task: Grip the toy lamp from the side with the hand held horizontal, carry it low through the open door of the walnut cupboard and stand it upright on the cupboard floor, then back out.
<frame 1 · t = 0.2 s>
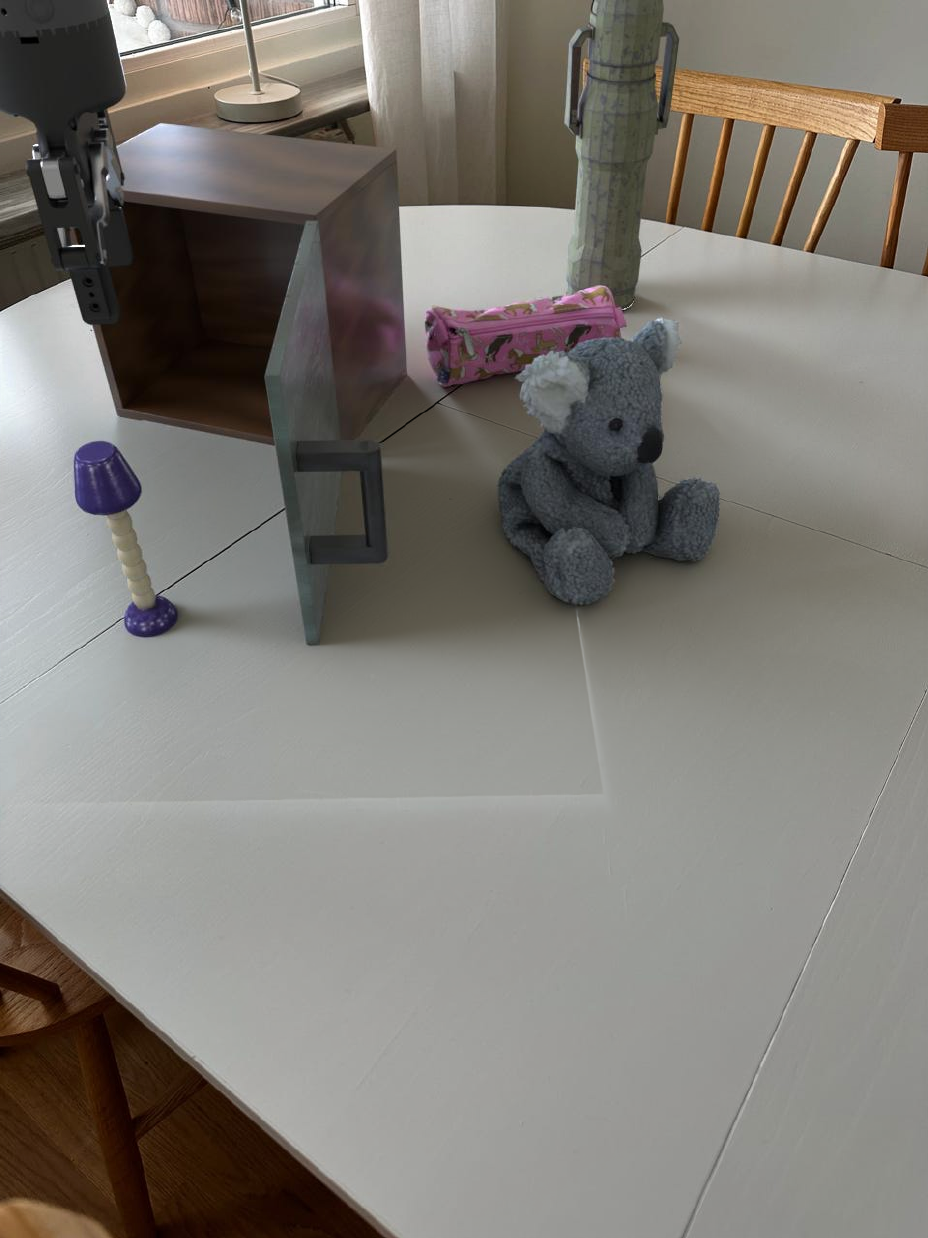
hand: (110, 291, 64), 27 cm above the table, tool pointing down, fingers open, 8 cm apart
cupboard door: (348, 428, 79), point 12 cm above the table, hinge at 110.0°
koala plush: (585, 536, 88), on the table
cupboard: (266, 394, 107), on the table
toy lamp: (149, 624, 80), on the table
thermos: (599, 300, 124), on the table
pencil case: (522, 372, 111), on the table
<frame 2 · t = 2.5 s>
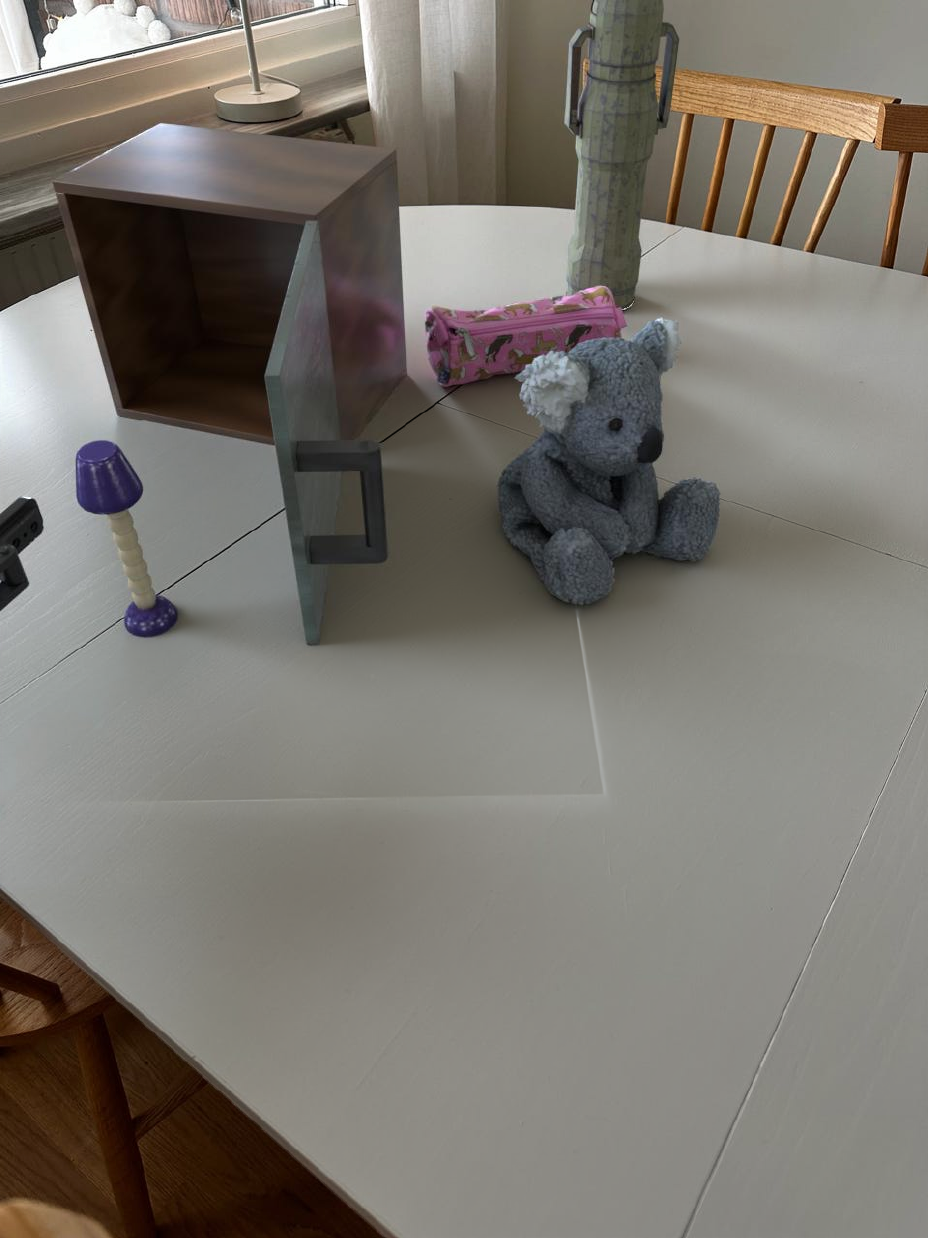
nothing on the table moved.
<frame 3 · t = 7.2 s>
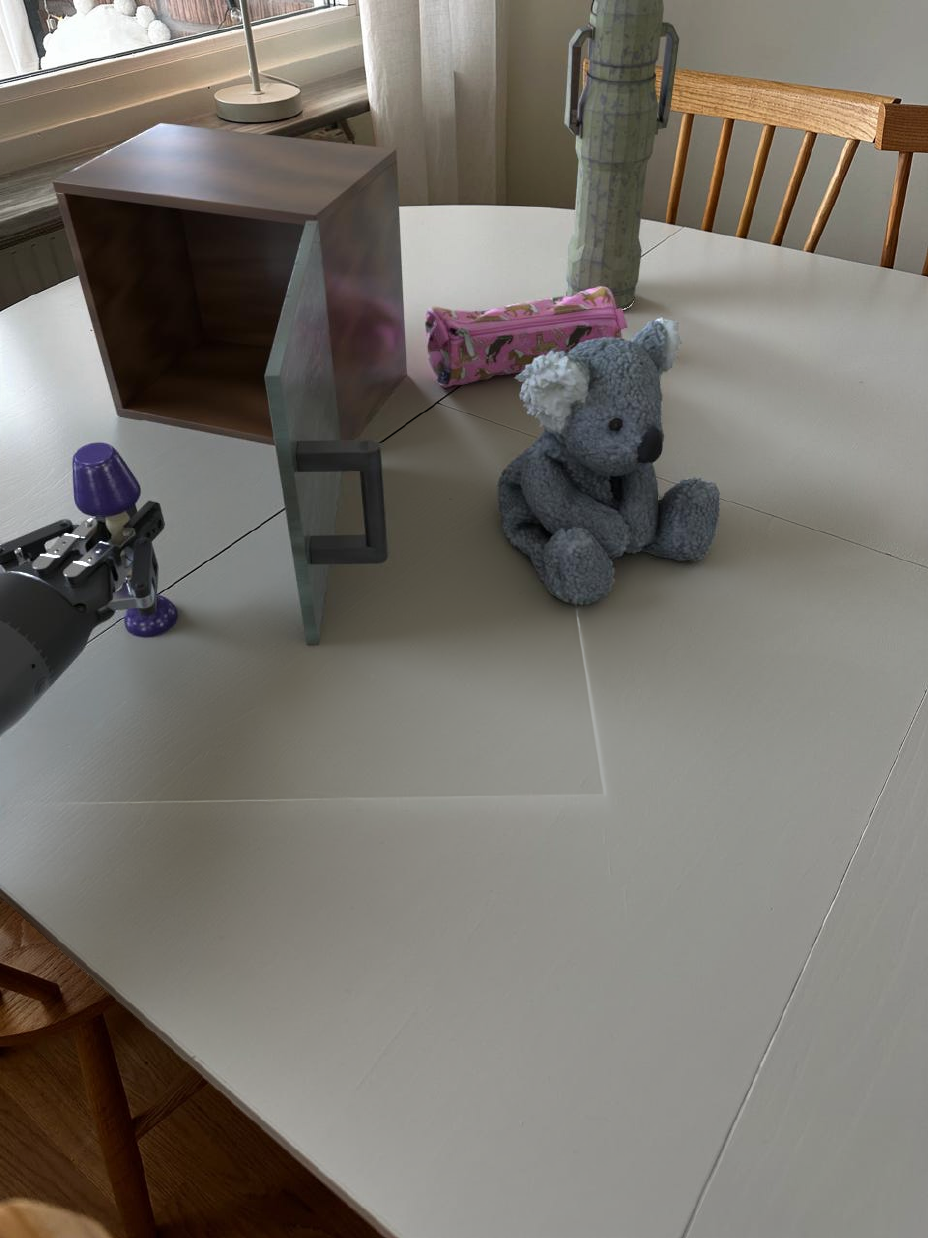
hand: (144, 508, 75), 10 cm above the table, tool horizontal, fingers closed on toy lamp
toy lamp: (149, 624, 80), on the table, touching gripper
everything else where it was.
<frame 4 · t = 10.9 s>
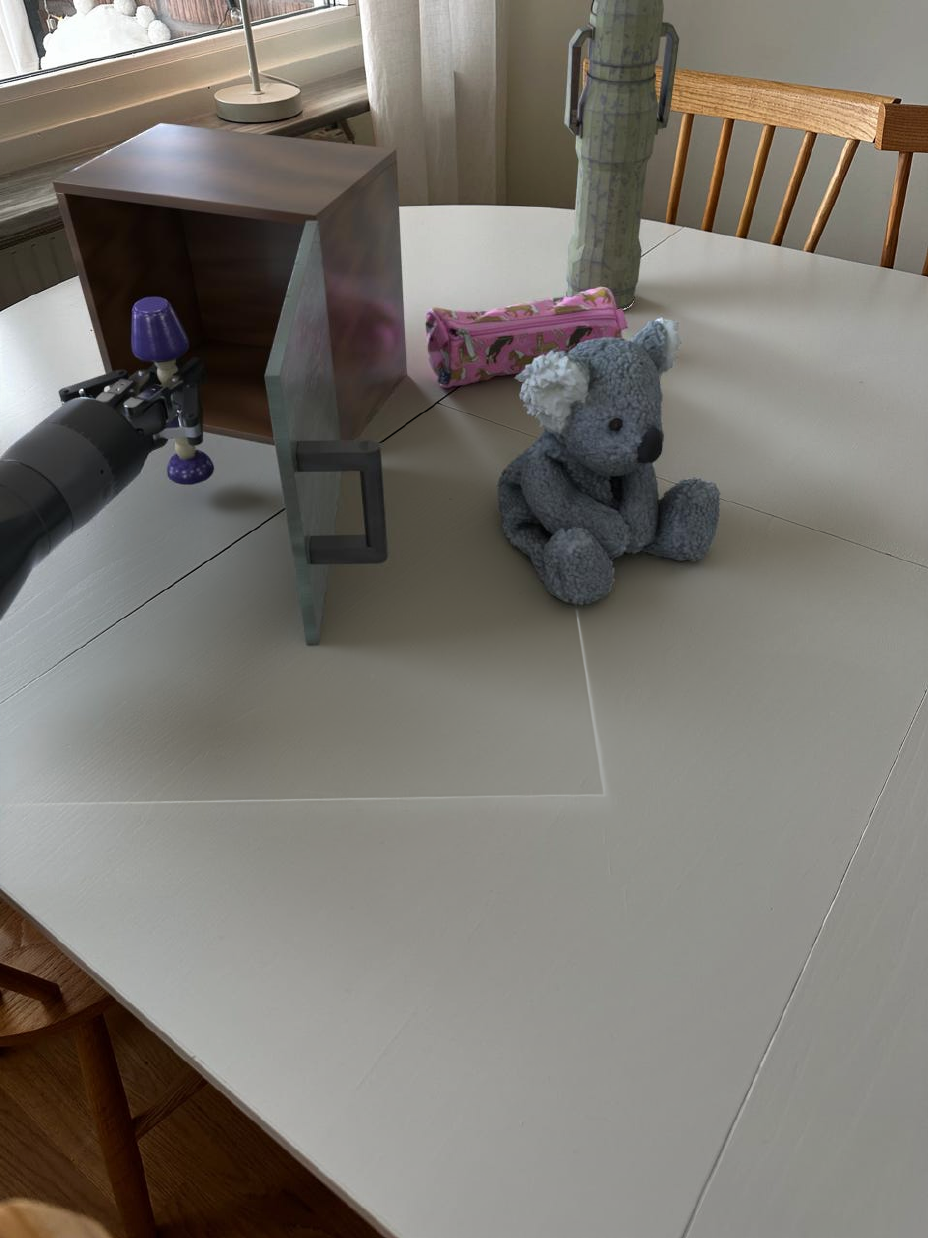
hand: (188, 365, 86), 13 cm above the table, tool horizontal, fingers closed on toy lamp
toy lamp: (188, 475, 90), point 3 cm above the table, touching gripper
everything else where it was.
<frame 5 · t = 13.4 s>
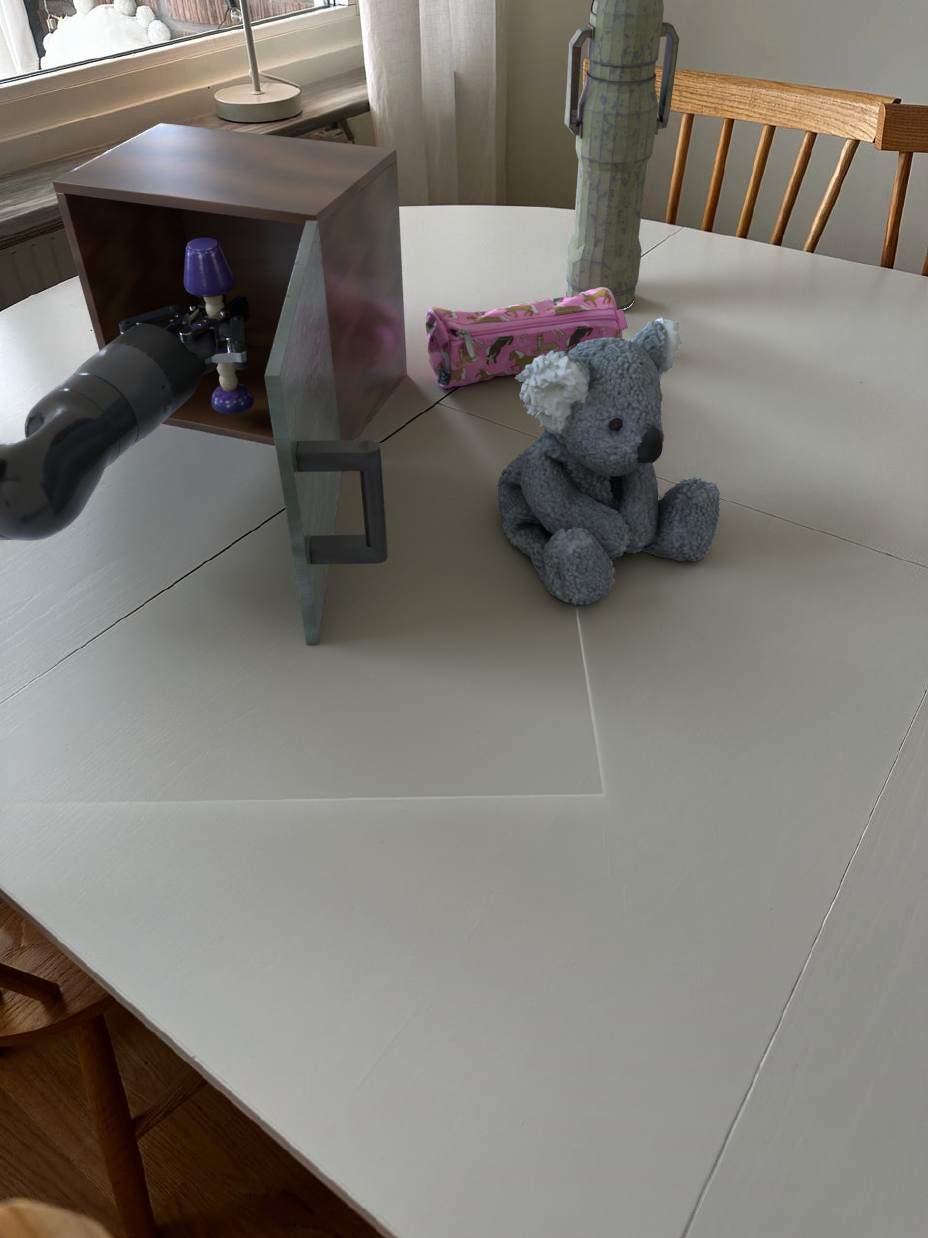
hand: (232, 303, 95), 13 cm above the table, tool horizontal, fingers closed on toy lamp
toy lamp: (231, 406, 99), point 3 cm above the table, touching gripper
everything else where it was.
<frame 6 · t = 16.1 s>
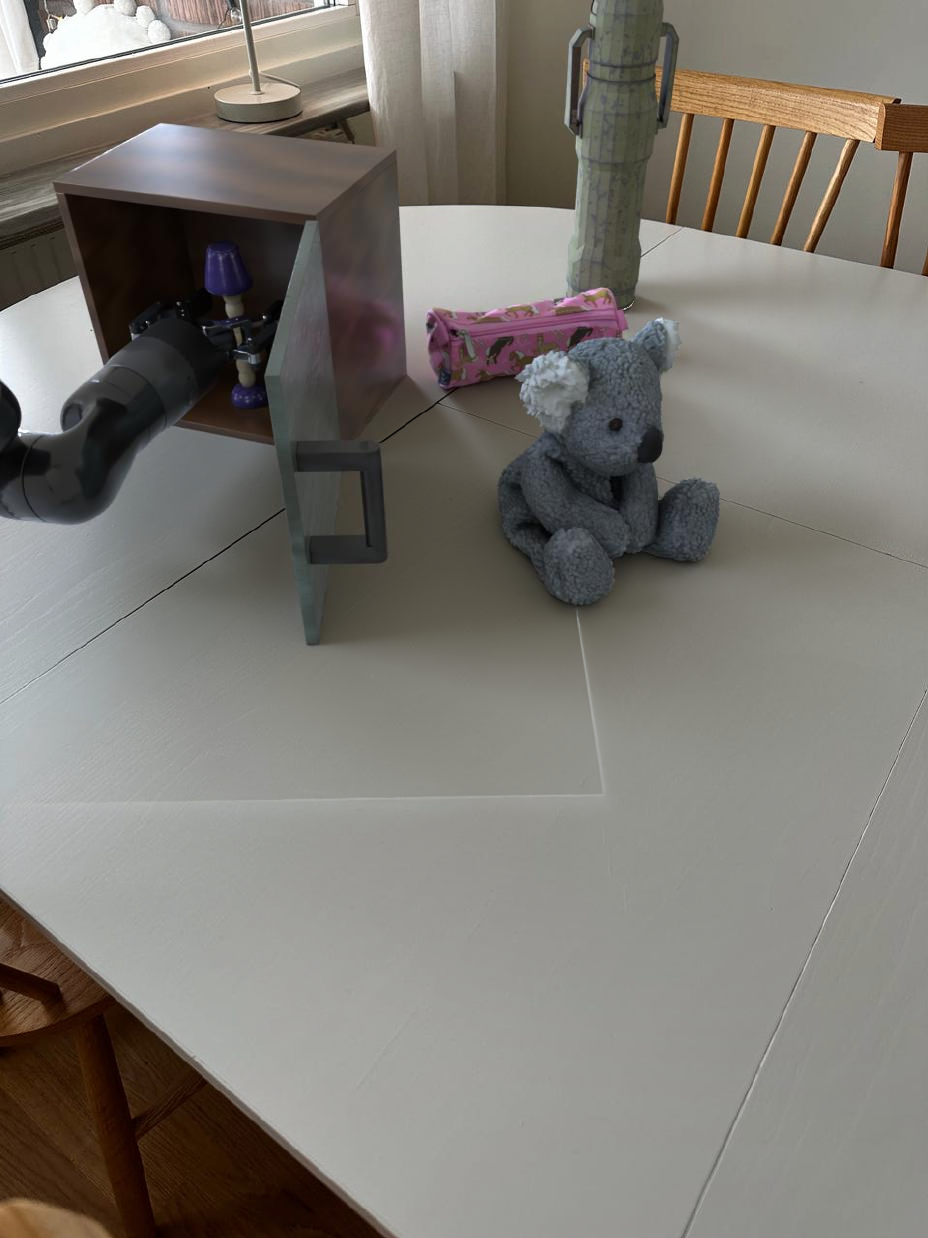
hand: (245, 302, 99), 11 cm above the table, tool horizontal, fingers open, 8 cm apart
toy lamp: (249, 402, 104), point 1 cm above the table, touching cupboard
everything else where it was.
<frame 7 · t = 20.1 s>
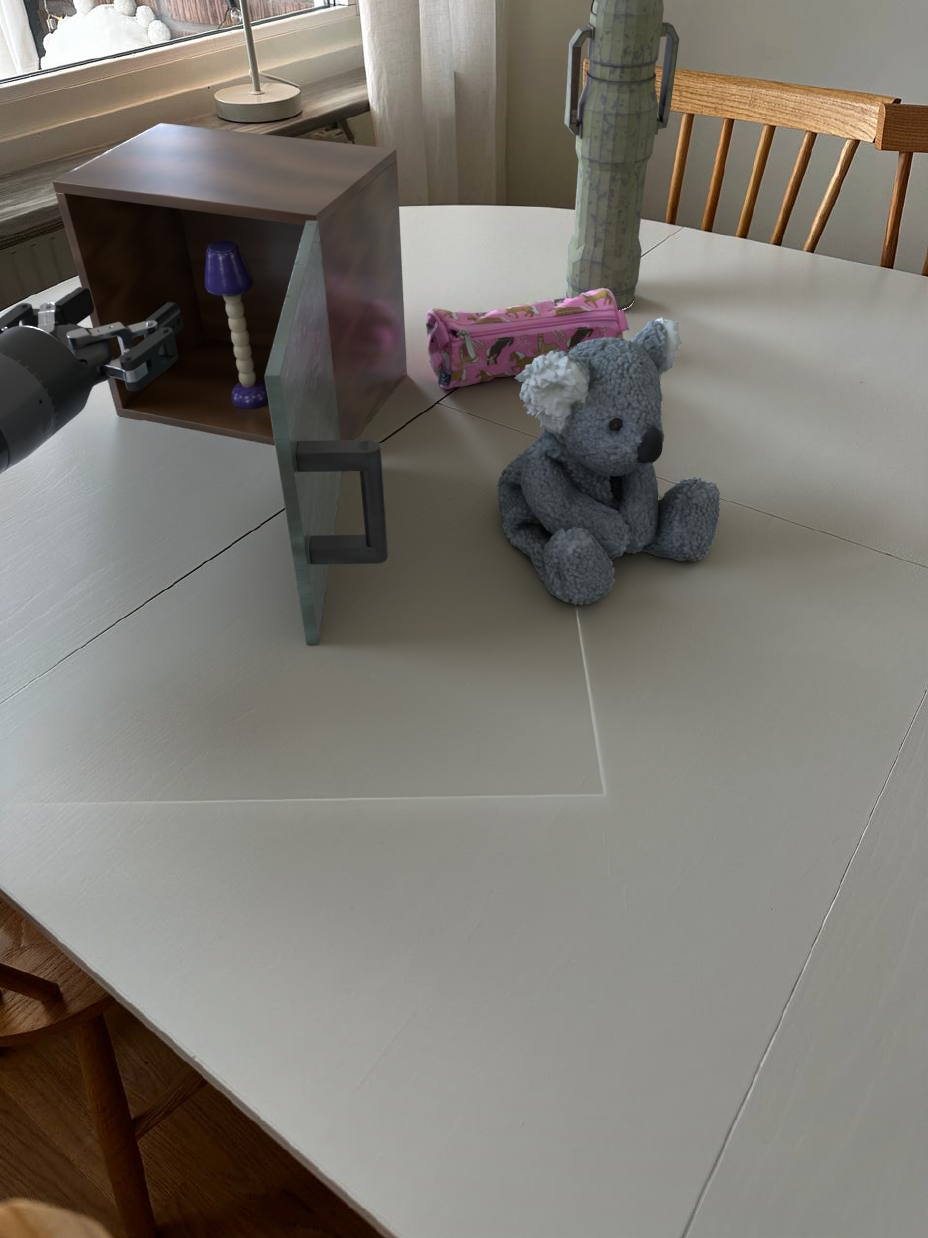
hand: (132, 305, 82), 18 cm above the table, tool horizontal, fingers open, 8 cm apart
nothing on the table moved.
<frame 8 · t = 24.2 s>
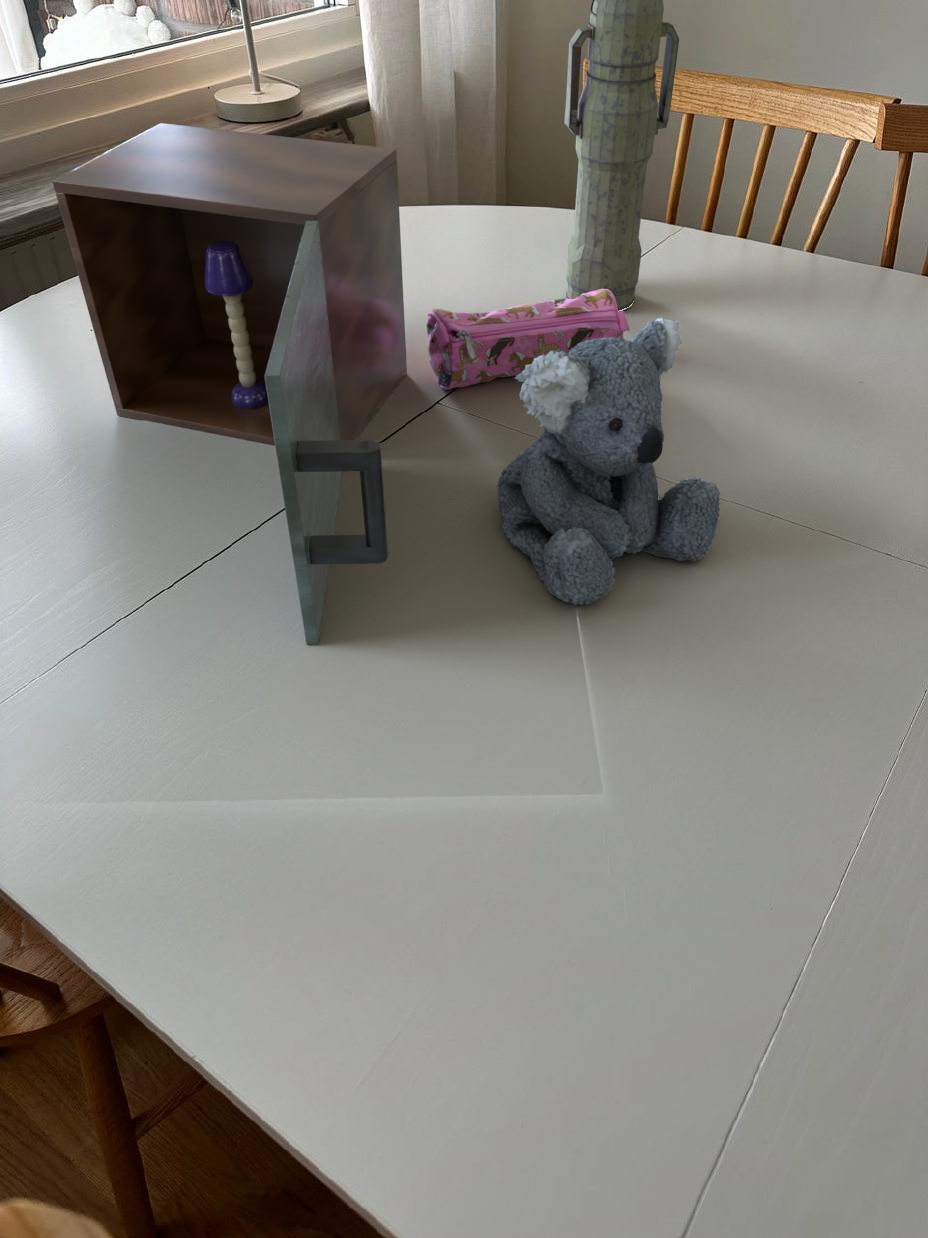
nothing on the table moved.
at the end: toy lamp inside the target area in the cupboard (3.2 cm from its centre), point 0.8 cm above the cupboard's base; toy lamp tilted 0°; the gripper is holding nothing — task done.
